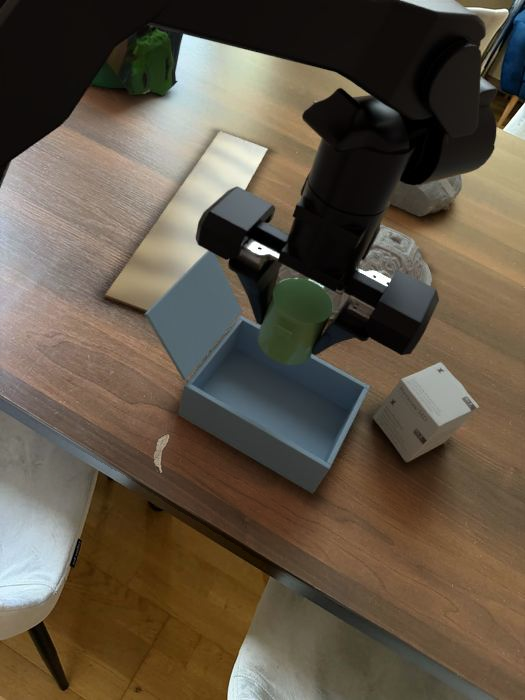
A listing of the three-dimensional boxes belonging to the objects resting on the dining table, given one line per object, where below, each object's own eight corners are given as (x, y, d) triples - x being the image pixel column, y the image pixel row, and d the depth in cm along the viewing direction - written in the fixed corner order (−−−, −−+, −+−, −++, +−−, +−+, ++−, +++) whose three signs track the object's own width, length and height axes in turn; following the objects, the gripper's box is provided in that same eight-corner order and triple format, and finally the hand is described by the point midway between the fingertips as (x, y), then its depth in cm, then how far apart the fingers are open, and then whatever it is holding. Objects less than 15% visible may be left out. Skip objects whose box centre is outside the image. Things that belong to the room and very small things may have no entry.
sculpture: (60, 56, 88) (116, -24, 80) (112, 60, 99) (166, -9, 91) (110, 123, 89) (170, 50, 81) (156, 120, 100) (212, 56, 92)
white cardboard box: (370, 418, 61) (399, 377, 56) (411, 399, 64) (441, 359, 59) (406, 465, 59) (439, 427, 53) (446, 443, 61) (482, 405, 56)
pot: (295, 381, 49) (314, 340, 45) (242, 352, 50) (256, 308, 45) (326, 332, 53) (346, 291, 49) (277, 306, 54) (293, 263, 50)
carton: (177, 414, 56) (184, 385, 52) (231, 345, 63) (240, 315, 59) (312, 494, 54) (329, 469, 50) (352, 413, 61) (370, 386, 57)
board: (172, 322, 63) (173, 320, 63) (104, 297, 63) (104, 294, 63) (267, 150, 90) (267, 148, 89) (219, 133, 90) (219, 130, 89)
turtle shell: (242, 241, 74) (258, 201, 68) (391, 228, 85) (414, 193, 80) (292, 339, 67) (314, 304, 62) (445, 310, 79) (475, 279, 74)
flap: (186, 380, 52) (183, 380, 52) (242, 310, 59) (240, 311, 59) (147, 313, 48) (144, 314, 48) (212, 248, 55) (209, 248, 55)
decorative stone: (406, 166, 97) (422, 134, 92) (460, 195, 95) (479, 164, 90) (375, 197, 89) (391, 163, 84) (433, 230, 87) (452, 197, 82)
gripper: (496, 198, 43) (409, 332, 55) (280, 92, 46) (240, 242, 57) (463, 277, 36) (370, 413, 47) (208, 147, 38) (180, 306, 50)
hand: (288, 336), depth 51 cm, fingers closed on pot, 5 cm apart
